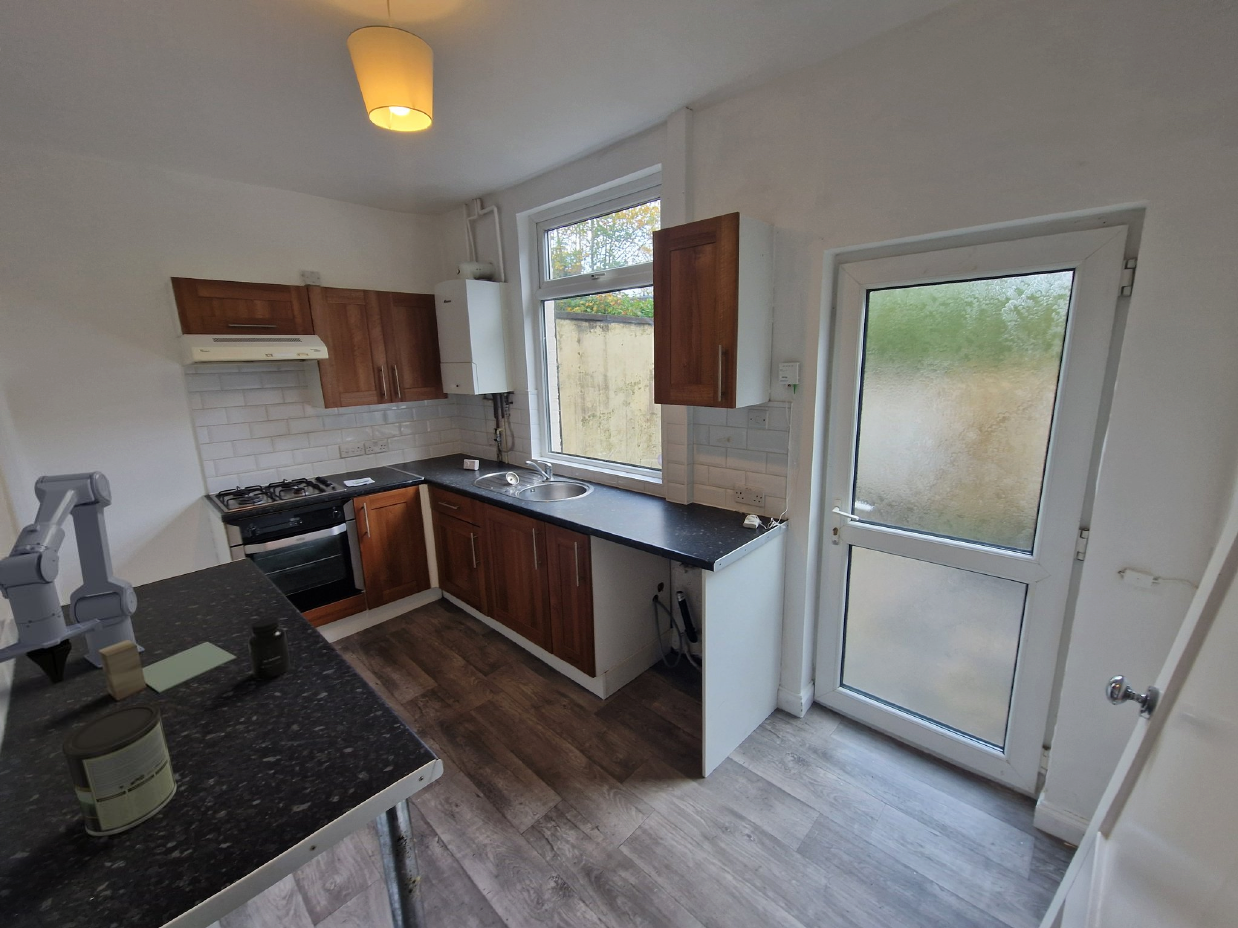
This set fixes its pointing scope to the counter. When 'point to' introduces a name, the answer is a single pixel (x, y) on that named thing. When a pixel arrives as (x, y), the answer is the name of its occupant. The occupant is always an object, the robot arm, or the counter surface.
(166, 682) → the mat
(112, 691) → the maple block
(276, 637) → the supplement bottle
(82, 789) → the coffee can
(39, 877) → the counter surface
